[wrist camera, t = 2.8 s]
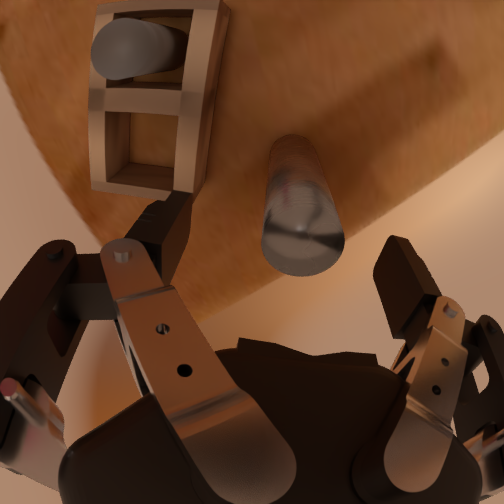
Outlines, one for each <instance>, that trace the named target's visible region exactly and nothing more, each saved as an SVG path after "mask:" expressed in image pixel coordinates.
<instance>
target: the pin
mask: <svg viewBox="0 0 504 504" xmlns="http://www.w3.org/2000/svg"><path fill="white" fill-rule="evenodd" d="M344 244H345V238H344V233H343V229H342V226H341V223H340V220H339V217H338V214H337V211H336V208H335V205H334V202H333V199H332V196H331V193H330V190H329V187H328V184H327V182H326V179H325V176H324V173H323V171H322V168H321V165H320V162H319V160H318V157H317V154H316V152H315V149H314V147H313V145H312V144H311V143H310V142H309V141H308V140H307V139H306V138H304V137H302V136H299V135H287V136H283V137H281V138H280V139H278V140H277V141H276V142H275V143H274V144H273V146H272V148H271V151H270V158H269V169H268V179H267V190H266V200H265V210H264V220H263V230H262V241H261V246H262V251H263V254H264V256H265V258H266V259H267V261H268V262H269V263H270V264H271V265H272V266H273V267H274V268H275V269H277V270H278V271H280V272H282V273H285V274H288V275H292V276H311V275H316V274H319V273H321V272H323V271H325V270H327V269H328V268H330V267H331V266H332V265H334V264H335V263H336V261H337V260H338V259H339V257H340V256H341V254H342V251H343V249H344Z"/></svg>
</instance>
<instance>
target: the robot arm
mask: <svg viewBox="0 0 504 504" xmlns="http://www.w3.org/2000/svg"><path fill="white" fill-rule="evenodd" d="M192 202H193V194H192V193H190V192H184V191H178V190H173V191H172V192H171V193H170V195H169V196H168V198H167V199H166V200H165V201H161V200H157V201H155V202H153V203H152V204H150V205H148V206H147V207H146V209H145V210H144V211H143V213H142V214H141V215H140V217H139V218H138V220H137V221H136V222H135V223H134V225H133V226H132V227H131V229H130V230H129V231H128V233H127V234H126V235H125V237H124V238H121V239H116V240H113V241H110V242H108V243H107V244H105V245H104V246H103V248H102V249H101V251H100V253H98V254H77V253H76V248H75V245H74V244H73V243H72V242H70V241H67V240H54V241H51V242H48V243H46V244H44V245H43V246H41V247H40V248H39V249H38V250H37V252H36V253H35V254H34V255H33V257H32V258H31V259H30V261H29V262H28V263H27V264H26V266H25V267H24V268H23V269H22V271H21V272H20V274H19V275H18V276H17V278H16V279H15V280H14V282H13V283H12V284H11V286H10V287H9V289H8V290H7V291H6V293H5V294H4V296H3V297H2V299H1V300H0V467H2V468H6V469H8V470H10V471H12V472H14V473H16V474H20V475H25V476H27V477H29V478H31V479H33V480H35V481H37V482H39V483H41V484H43V485H45V486H47V487H49V488H52V489H54V490H56V491H58V492H60V496H61V499H62V503H63V504H479V501H482V500H484V499H487V498H489V497H491V496H494V495H496V494H498V493H500V492H502V491H504V333H503V331H502V329H501V327H500V326H499V324H498V323H497V322H496V321H495V320H494V319H493V318H491V317H490V316H488V315H482V316H481V317H480V318H479V319H478V321H477V322H476V323H473V322H471V321H469V320H466V319H465V313H464V312H463V309H462V308H461V307H460V305H459V304H458V303H457V302H456V301H454V300H453V299H451V298H449V297H446V296H442V294H441V292H440V290H439V288H438V286H437V285H436V283H435V281H434V279H433V278H432V277H431V274H430V272H429V271H428V268H427V267H426V265H425V263H424V261H423V260H422V259H421V258H420V257H419V256H418V255H417V253H416V252H415V250H414V248H413V247H412V245H411V243H410V242H409V240H408V239H406V238H402V237H398V236H394V235H391V236H390V237H389V238H388V239H387V241H386V243H385V245H384V247H383V249H382V252H381V253H380V256H379V257H378V260H377V262H376V264H375V266H374V270H373V279H374V282H375V285H376V287H377V290H378V293H379V296H380V299H381V302H382V305H383V308H384V311H385V314H386V317H387V320H388V324H389V327H390V330H391V334H392V337H393V339H405V341H406V342H405V343H404V344H403V345H402V347H401V348H400V350H399V352H398V354H397V356H396V358H395V360H394V362H393V364H392V366H391V368H390V370H389V369H387V368H385V367H383V366H380V365H378V362H377V358H376V354H369V353H355V352H340V353H333V354H326V355H319V356H312V355H308V354H305V353H302V352H299V351H296V350H293V349H290V348H288V347H285V346H282V345H279V344H276V343H271V342H264V341H257V340H251V339H245V338H239V339H238V343H237V348H230V349H223V350H218V351H215V352H214V351H213V349H212V348H211V346H210V344H209V343H208V341H207V340H206V338H205V337H204V335H203V333H202V332H201V330H200V329H199V327H198V325H197V324H196V322H195V320H194V319H193V317H192V316H191V314H190V312H189V311H188V309H187V307H186V306H185V304H184V302H183V300H182V299H181V297H180V295H179V294H178V292H177V290H176V289H175V287H174V286H172V285H170V283H171V280H172V278H173V275H174V273H175V271H176V268H177V266H178V263H179V261H180V259H181V256H182V254H183V252H184V249H185V247H186V245H187V242H188V238H189V234H190V226H191V213H192ZM89 320H113V323H114V325H115V328H116V331H117V334H118V337H119V340H120V342H121V345H122V348H123V350H124V353H125V355H126V358H127V361H128V363H129V366H130V368H131V372H132V374H133V377H134V380H135V382H136V385H137V387H138V389H139V392H140V394H141V396H142V398H140V399H139V400H137V401H136V402H134V403H133V404H132V405H130V406H129V407H127V408H125V409H124V410H122V411H121V412H119V413H118V414H116V415H115V416H113V417H112V418H110V419H109V420H107V421H106V422H105V423H103V424H101V425H100V426H98V427H96V428H95V429H93V430H92V431H90V432H89V433H87V434H85V435H84V436H82V437H81V438H79V439H78V440H77V441H75V442H74V443H73V444H72V445H71V446H70V447H69V448H68V449H67V447H66V445H65V442H64V438H63V432H64V417H63V414H62V412H61V410H60V409H59V407H58V406H57V405H56V404H55V403H56V400H57V397H58V395H59V392H60V389H61V387H62V384H63V381H64V379H65V376H66V374H67V371H68V369H69V366H70V364H71V361H72V359H73V356H74V354H75V352H76V349H77V347H78V345H79V342H80V340H81V337H82V335H83V333H84V331H85V329H86V326H87V324H88V322H89ZM483 360H484V363H485V366H486V368H487V371H488V374H489V383H488V385H487V387H486V388H485V389H484V390H483V391H482V392H481V393H480V394H479V392H478V389H477V385H476V382H475V379H474V376H473V373H472V371H473V370H474V369H475V368H476V367H477V366H478V365H479V364H480V363H481V362H482V361H483ZM452 417H453V419H454V424H455V429H456V434H457V437H456V436H455V435H454V434H453V430H452V428H451V421H452Z"/></svg>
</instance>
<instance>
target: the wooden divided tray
mask: <svg viewBox="0 0 504 504" xmlns="http://www.w3.org/2000/svg"><path fill="white" fill-rule="evenodd" d="M230 11H231V9H230V8H229V7H228V6H227V5H226V4H225V3H224V2H223V1H222V0H129V1H120V2H113V3H106V4H100V5H98V7H97V12H96V19H95V26H94V33H93V42H92V47H91V63H90V77H89V103H88V133H89V160H90V175H91V187H92V190H96V191H103V192H110V193H117V194H123V195H130V196H137V197H143V198H149V199H156V200H162V201H165V200H166V199H167V198H168V196H169V195H170V193H171V192H172V191H173V190H178V191H184V192H190V193H192V194H193V202H192V204H193V203H194V201H195V199H196V197H197V195H198V193H199V192H200V190H201V188H202V186H203V184H204V183H205V175H206V166H207V158H208V149H209V141H210V134H211V126H212V119H213V112H214V105H215V98H216V91H217V85H218V78H219V72H220V66H221V60H222V54H223V48H224V43H225V37H226V32H227V27H228V21H229V16H230ZM150 17H193V18H192V23H191V29H190V35H189V37H188V36H187V35H186V34H185V33H184V32H183V31H181V30H179V29H176V28H172V27H168V26H164V25H160V24H155V23H151V22H146V21H141V20H140V18H150ZM184 63H185V67H184V75H183V83H182V84H178V83H161V82H132V80H133V77H135V76H140V75H146V74H152V73H158V72H165V71H171V70H175V69H177V68H179V67H180V66H182V65H183V64H184ZM130 112H136V113H152V114H165V115H176V116H179V118H178V129H177V141H176V153H175V168H168V167H160V166H153V165H145V164H136V163H129V133H130Z"/></svg>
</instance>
